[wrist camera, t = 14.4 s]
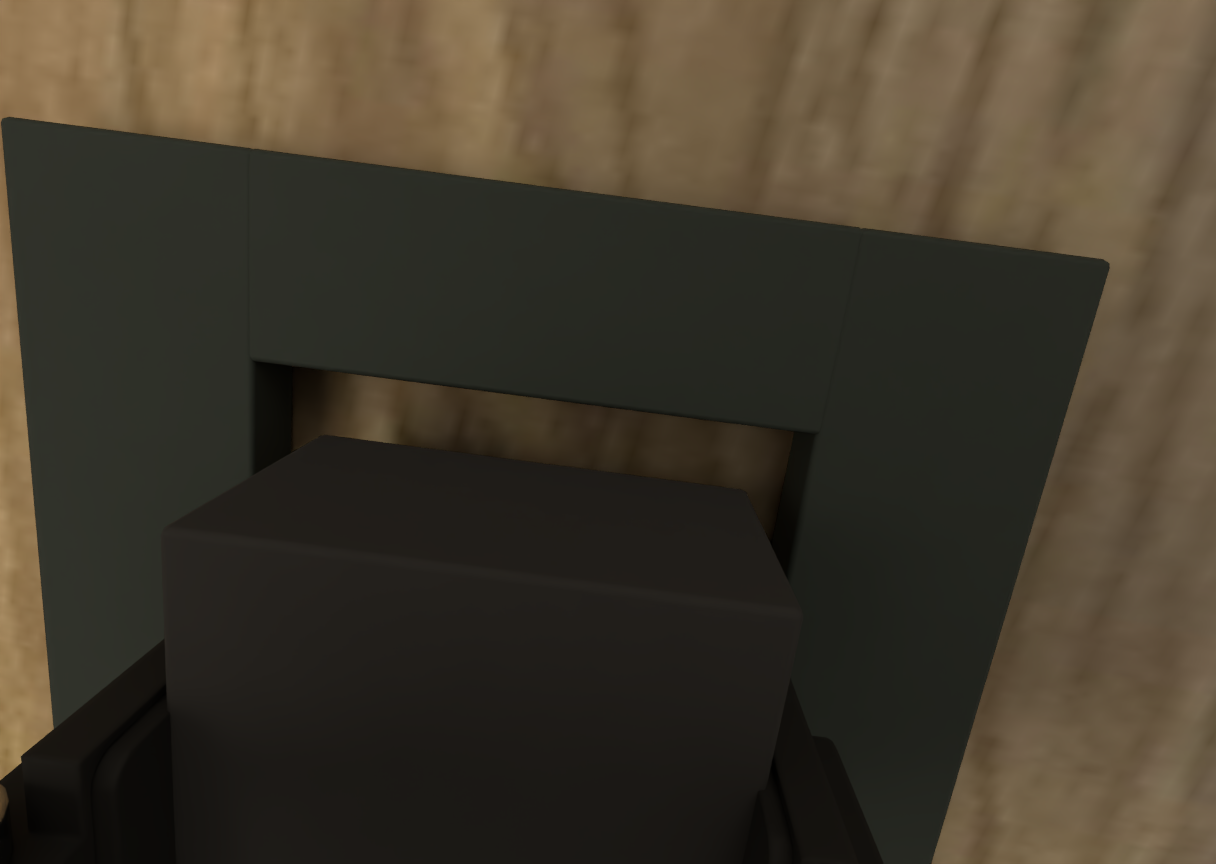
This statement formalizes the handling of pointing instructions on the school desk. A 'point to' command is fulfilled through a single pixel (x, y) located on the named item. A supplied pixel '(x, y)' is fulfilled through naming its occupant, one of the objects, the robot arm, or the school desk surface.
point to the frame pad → (549, 390)
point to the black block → (470, 663)
